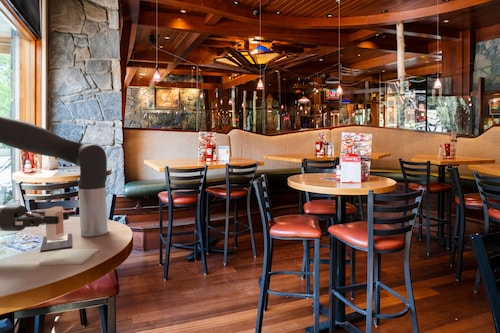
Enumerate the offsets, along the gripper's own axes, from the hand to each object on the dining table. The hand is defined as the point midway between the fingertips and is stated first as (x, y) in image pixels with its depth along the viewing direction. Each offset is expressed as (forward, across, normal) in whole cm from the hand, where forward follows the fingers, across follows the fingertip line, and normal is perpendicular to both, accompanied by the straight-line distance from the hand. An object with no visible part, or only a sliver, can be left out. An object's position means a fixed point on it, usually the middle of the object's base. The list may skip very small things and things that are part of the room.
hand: (63, 217), depth 108 cm
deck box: (-3, 0, +6) cm, 7 cm away
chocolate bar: (-11, +16, +13) cm, 23 cm away
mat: (+2, 0, +12) cm, 12 cm away
